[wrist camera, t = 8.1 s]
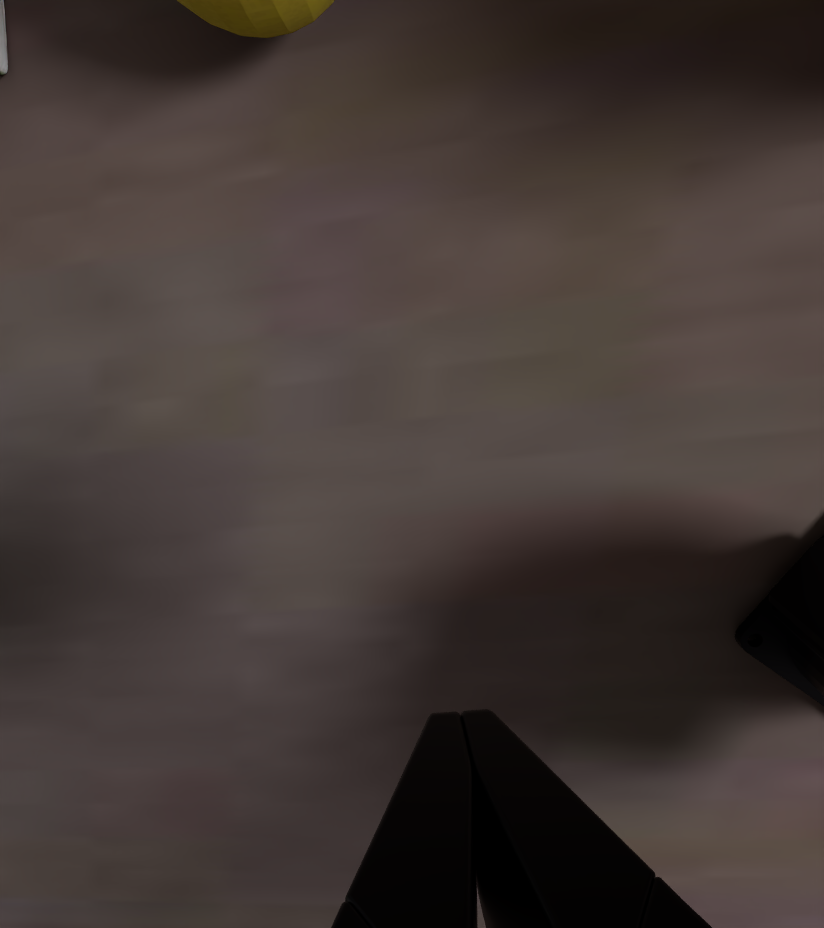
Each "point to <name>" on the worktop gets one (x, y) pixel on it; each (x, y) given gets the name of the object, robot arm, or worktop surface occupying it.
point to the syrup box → (3, 41)
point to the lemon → (258, 15)
